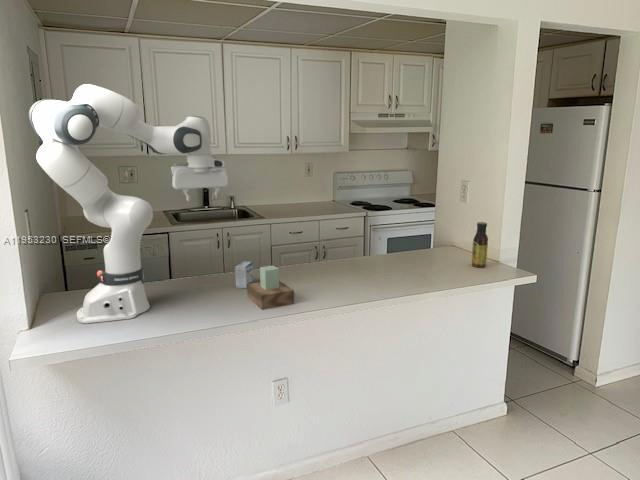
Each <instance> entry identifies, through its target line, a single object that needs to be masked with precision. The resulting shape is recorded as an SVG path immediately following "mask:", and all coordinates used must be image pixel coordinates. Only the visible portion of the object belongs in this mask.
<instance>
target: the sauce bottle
mask: <svg viewBox="0 0 640 480" xmlns="http://www.w3.org/2000/svg"><path fill="white" fill-rule="evenodd" d="M476 226H477V228H476V233H475V235H474V238H473V239H472V240H473V241H472V251H471V266H473V267H474V268H485V267H486V266H487V265H486V264H487V259H488V258H487V257H488V256H487V255H488V246H489V245H488V242H489V237H488V235H487V227H488V223H487V222H484V221H482V222H481V221H479V222H477V223H476Z"/></svg>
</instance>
